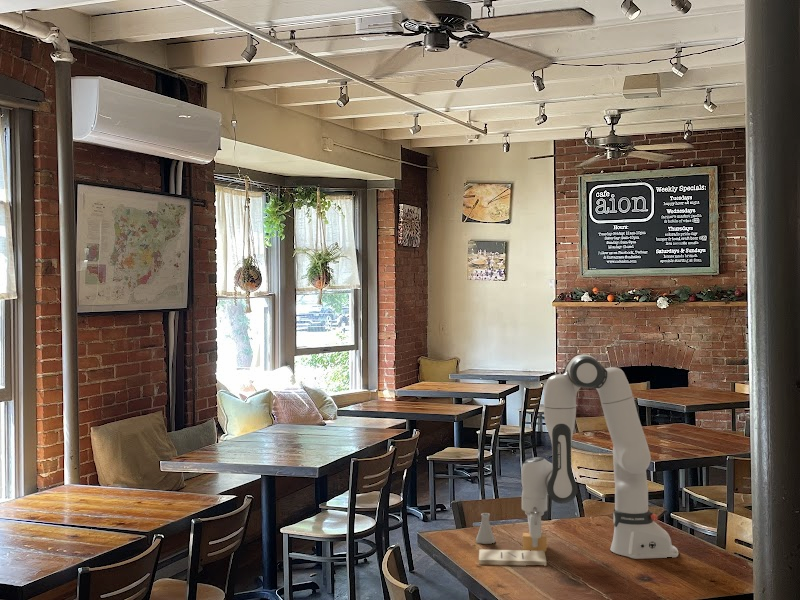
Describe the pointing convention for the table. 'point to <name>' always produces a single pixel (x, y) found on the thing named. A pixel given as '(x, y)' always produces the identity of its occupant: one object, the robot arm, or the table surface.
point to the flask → (485, 531)
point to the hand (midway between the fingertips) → (534, 544)
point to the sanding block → (528, 542)
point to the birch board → (511, 557)
